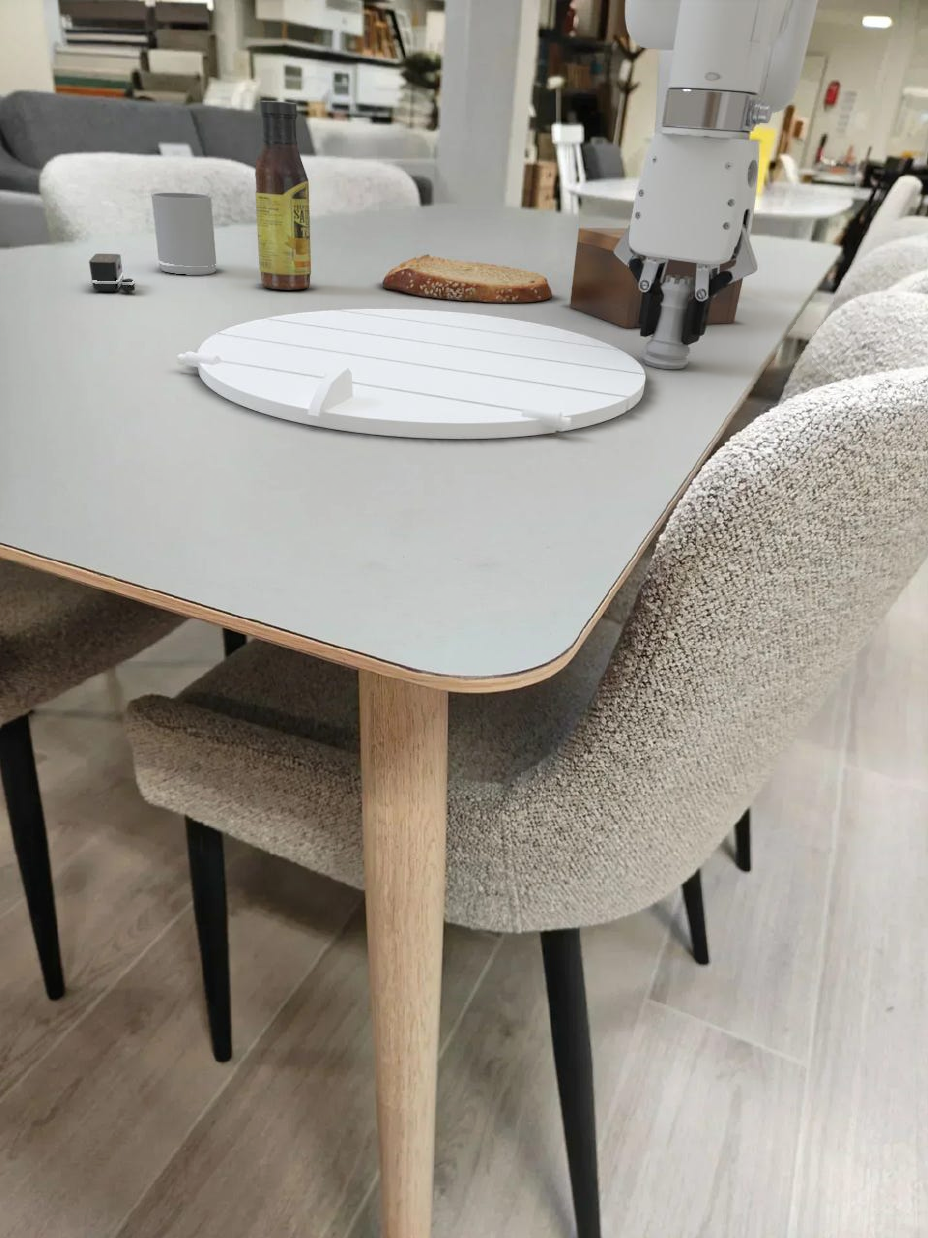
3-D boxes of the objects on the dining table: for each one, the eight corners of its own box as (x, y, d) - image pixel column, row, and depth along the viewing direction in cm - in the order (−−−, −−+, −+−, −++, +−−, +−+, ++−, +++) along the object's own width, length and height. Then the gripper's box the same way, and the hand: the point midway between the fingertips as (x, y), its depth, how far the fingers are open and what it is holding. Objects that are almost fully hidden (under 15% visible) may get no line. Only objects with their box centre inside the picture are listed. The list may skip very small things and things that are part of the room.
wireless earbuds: (91, 293, 96) (87, 262, 95) (100, 282, 102) (95, 253, 101) (135, 294, 97) (131, 264, 96) (141, 283, 103) (137, 254, 102)
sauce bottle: (307, 293, 104) (300, 102, 94) (255, 289, 104) (243, 98, 94) (315, 284, 110) (310, 103, 100) (266, 281, 110) (256, 99, 100)
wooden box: (569, 306, 107) (578, 227, 102) (672, 303, 113) (685, 228, 109) (625, 328, 97) (638, 242, 93) (734, 322, 104) (750, 242, 99)
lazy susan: (583, 479, 55) (590, 428, 54) (86, 388, 66) (79, 342, 64) (673, 352, 88) (680, 317, 86) (332, 305, 99) (331, 273, 97)
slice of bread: (563, 299, 111) (567, 268, 109) (456, 310, 100) (458, 276, 98) (473, 276, 122) (474, 248, 120) (368, 284, 112) (368, 253, 110)
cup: (155, 274, 109) (145, 196, 105) (169, 262, 118) (161, 189, 113) (213, 276, 110) (206, 199, 106) (223, 264, 119) (217, 192, 114)
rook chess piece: (688, 372, 81) (705, 282, 77) (641, 367, 82) (655, 278, 78) (687, 361, 85) (703, 275, 81) (642, 356, 86) (655, 271, 82)
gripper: (817, 124, 72) (766, 347, 81) (636, 113, 80) (608, 318, 89) (793, 121, 67) (740, 361, 76) (600, 110, 74) (574, 329, 83)
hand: (669, 336), depth 82 cm, fingers closed on rook chess piece, 3 cm apart
